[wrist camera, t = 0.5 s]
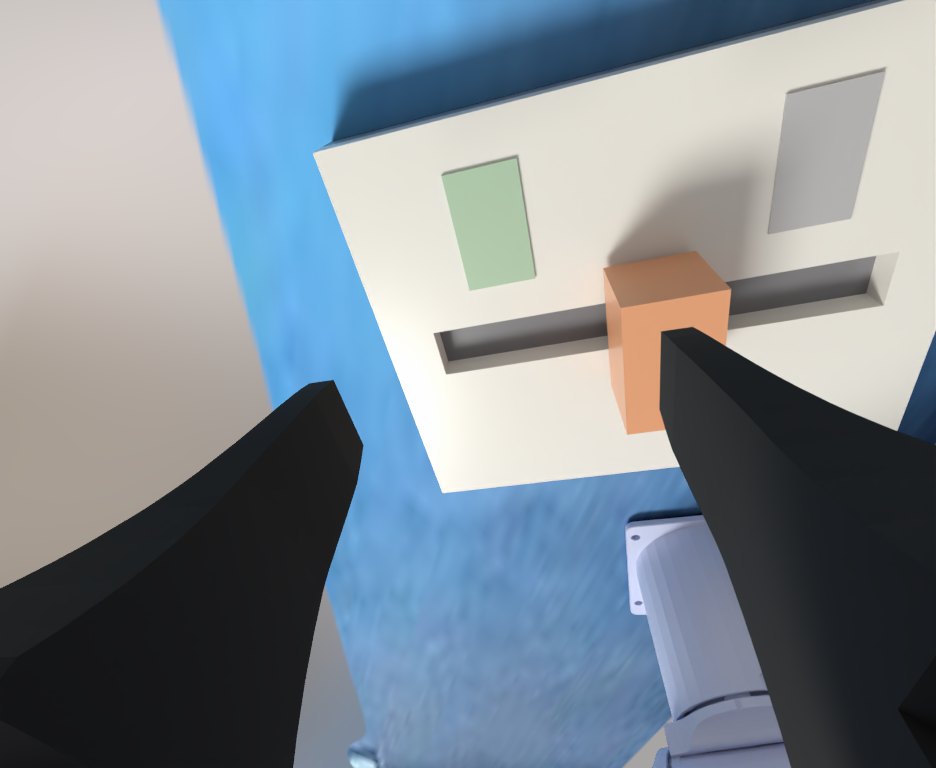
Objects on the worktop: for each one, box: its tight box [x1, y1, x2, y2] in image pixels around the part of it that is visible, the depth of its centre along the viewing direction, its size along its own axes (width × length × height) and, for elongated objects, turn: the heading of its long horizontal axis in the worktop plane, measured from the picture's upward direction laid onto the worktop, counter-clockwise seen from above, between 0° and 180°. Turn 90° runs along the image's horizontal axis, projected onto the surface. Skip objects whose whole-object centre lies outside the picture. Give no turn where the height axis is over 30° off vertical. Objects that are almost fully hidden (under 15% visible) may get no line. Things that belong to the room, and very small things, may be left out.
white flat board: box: [313, 0, 936, 493], centre depth 18 cm, size 16×20×2 cm
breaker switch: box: [603, 251, 731, 435], centre depth 17 cm, size 5×3×4 cm, turn 13°
